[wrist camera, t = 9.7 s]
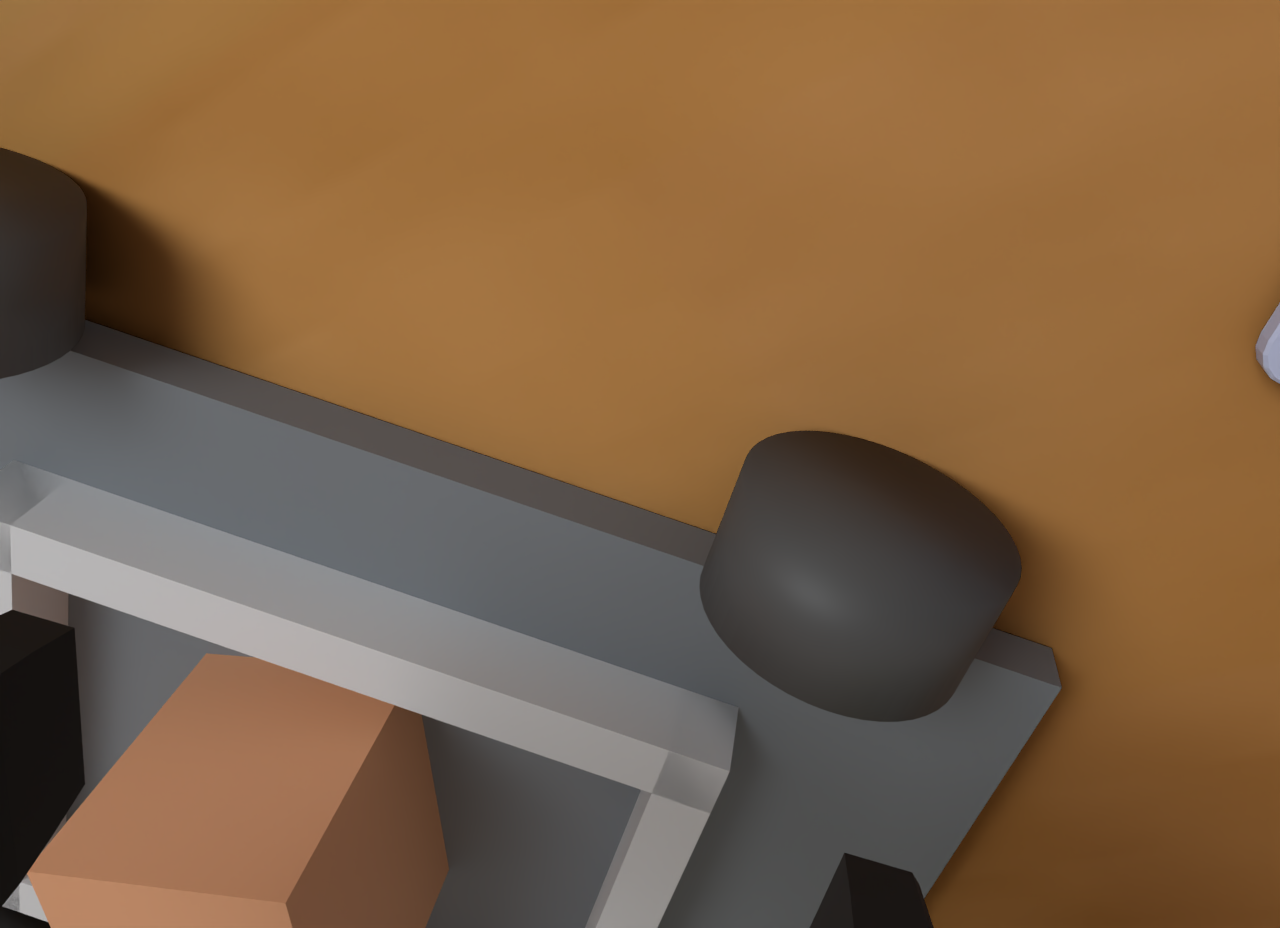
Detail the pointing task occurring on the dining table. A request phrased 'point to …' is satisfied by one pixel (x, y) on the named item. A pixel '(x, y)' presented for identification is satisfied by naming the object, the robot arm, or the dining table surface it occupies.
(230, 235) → the dining table surface
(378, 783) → the orange block
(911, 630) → the chassis
